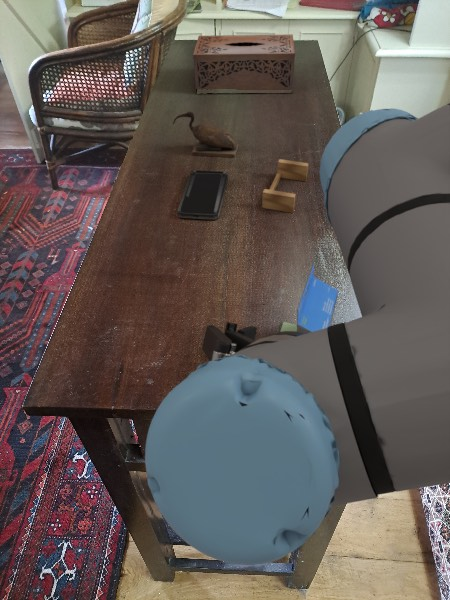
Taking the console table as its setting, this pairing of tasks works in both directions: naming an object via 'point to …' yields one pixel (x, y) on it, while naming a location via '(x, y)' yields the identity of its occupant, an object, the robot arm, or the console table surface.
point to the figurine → (211, 140)
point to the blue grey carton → (316, 305)
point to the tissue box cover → (244, 62)
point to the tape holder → (283, 199)
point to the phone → (203, 195)
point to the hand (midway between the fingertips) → (309, 352)
